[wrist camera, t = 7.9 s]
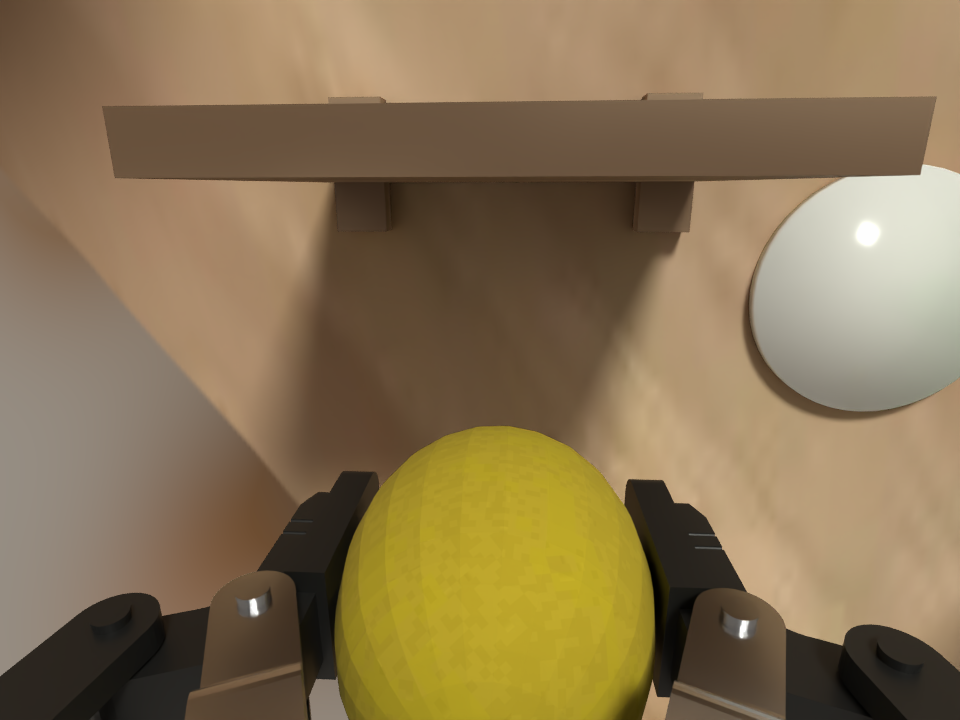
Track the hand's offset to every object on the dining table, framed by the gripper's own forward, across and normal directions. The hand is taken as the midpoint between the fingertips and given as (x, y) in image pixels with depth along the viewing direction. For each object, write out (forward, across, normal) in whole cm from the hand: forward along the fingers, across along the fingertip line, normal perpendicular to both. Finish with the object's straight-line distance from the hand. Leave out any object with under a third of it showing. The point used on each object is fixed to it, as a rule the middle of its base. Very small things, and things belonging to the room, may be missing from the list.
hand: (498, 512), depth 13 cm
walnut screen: (+13, 0, -8) cm, 15 cm away
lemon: (+2, 0, 0) cm, 2 cm away
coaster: (+13, -15, -2) cm, 20 cm away
